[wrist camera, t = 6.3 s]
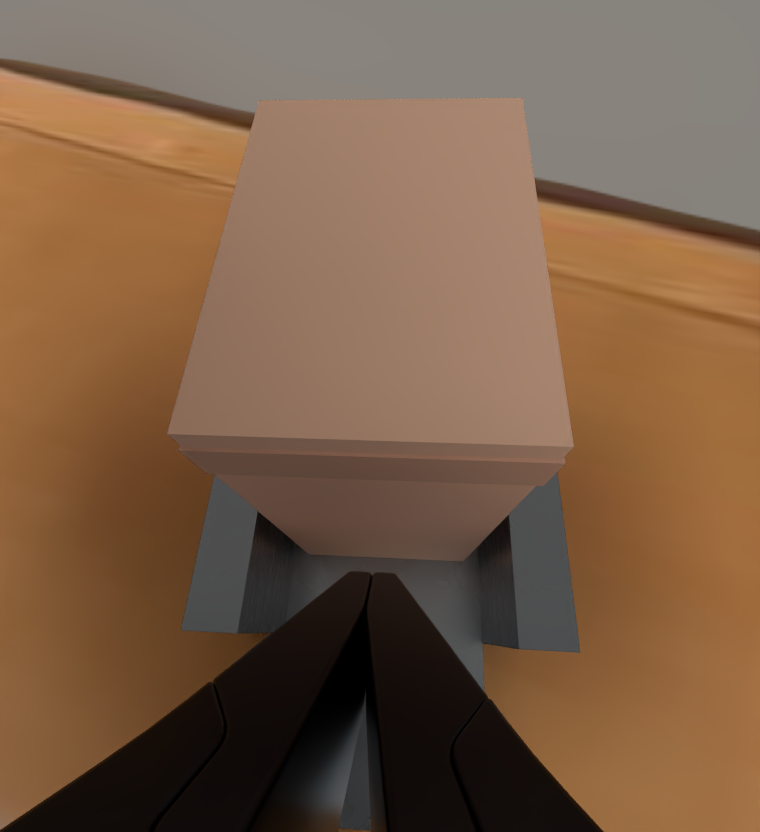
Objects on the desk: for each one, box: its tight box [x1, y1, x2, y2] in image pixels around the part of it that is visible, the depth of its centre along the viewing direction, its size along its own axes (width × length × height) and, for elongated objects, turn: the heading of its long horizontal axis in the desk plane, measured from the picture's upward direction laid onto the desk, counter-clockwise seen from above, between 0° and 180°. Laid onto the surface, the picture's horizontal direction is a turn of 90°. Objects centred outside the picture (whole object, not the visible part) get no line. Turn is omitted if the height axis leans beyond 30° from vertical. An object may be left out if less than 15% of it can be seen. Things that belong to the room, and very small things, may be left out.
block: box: [167, 98, 574, 561], centre depth 11 cm, size 7×5×10 cm
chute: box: [181, 473, 580, 830], centre depth 12 cm, size 12×8×5 cm
